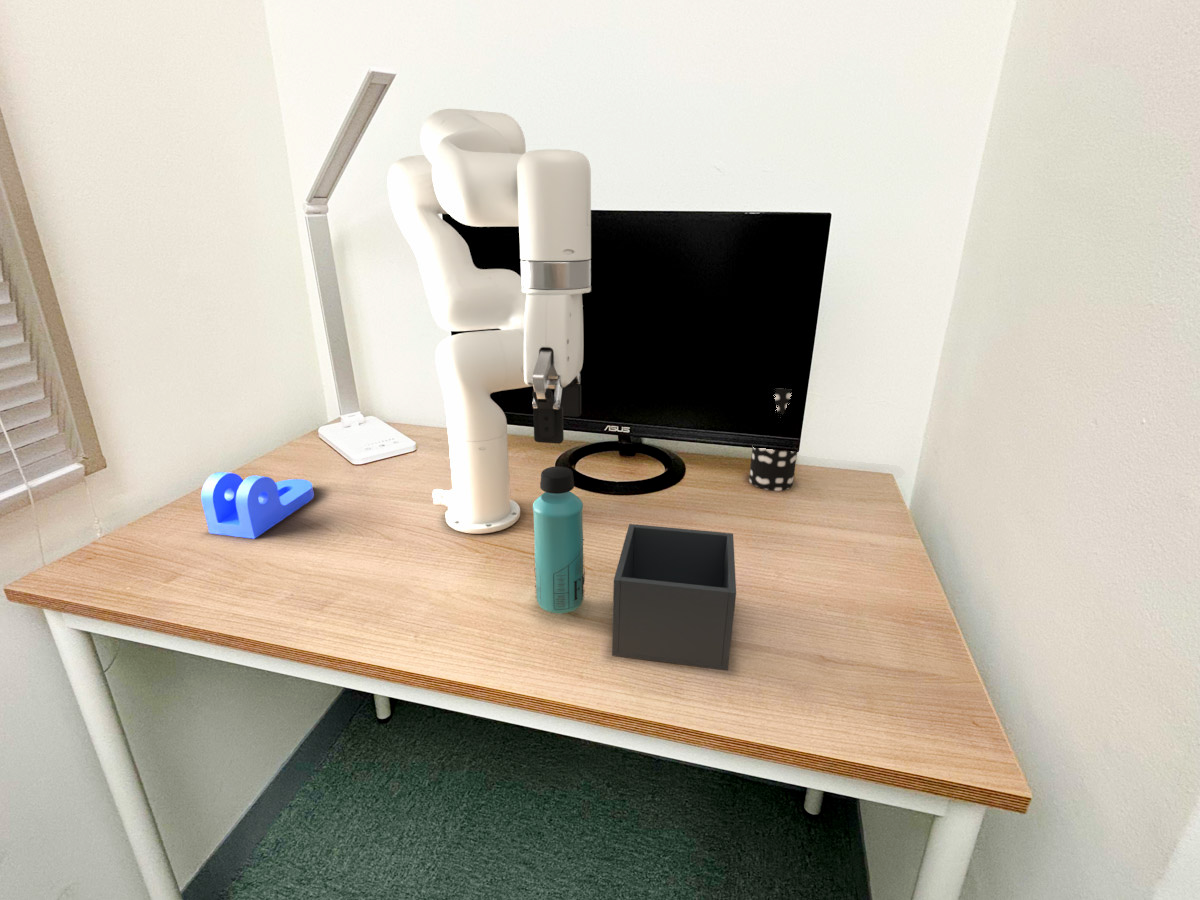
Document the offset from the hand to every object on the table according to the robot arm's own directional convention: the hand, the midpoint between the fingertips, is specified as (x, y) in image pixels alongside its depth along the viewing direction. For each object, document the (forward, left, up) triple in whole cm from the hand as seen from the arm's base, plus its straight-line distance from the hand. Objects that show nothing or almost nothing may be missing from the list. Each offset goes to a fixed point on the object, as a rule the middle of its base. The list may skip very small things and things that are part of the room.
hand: (559, 428), depth 72 cm
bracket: (-56, +18, -26) cm, 64 cm away
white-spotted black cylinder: (+31, +48, -26) cm, 63 cm away
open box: (+15, -1, -26) cm, 30 cm away
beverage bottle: (0, 0, -26) cm, 26 cm away
